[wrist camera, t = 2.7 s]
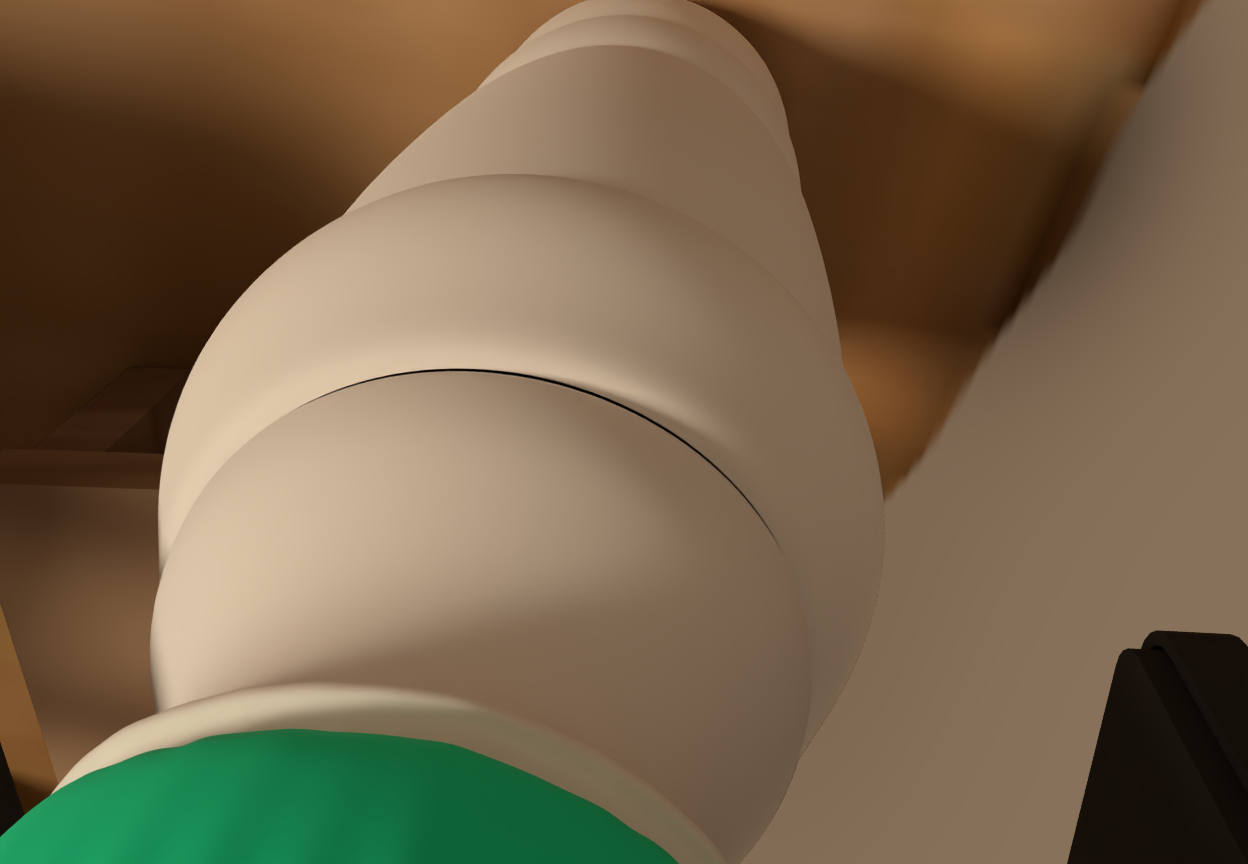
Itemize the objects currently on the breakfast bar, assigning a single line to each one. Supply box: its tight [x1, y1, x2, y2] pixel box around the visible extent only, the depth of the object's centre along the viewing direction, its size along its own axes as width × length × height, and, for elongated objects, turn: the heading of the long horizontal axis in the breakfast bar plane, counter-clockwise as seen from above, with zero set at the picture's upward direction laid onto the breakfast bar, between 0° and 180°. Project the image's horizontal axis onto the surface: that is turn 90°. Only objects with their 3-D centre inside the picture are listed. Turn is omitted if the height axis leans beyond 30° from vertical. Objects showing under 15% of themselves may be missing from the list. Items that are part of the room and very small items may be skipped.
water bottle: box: [0, 0, 884, 864], centre depth 15 cm, size 7×7×25 cm
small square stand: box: [0, 367, 192, 784], centre depth 30 cm, size 14×14×7 cm
